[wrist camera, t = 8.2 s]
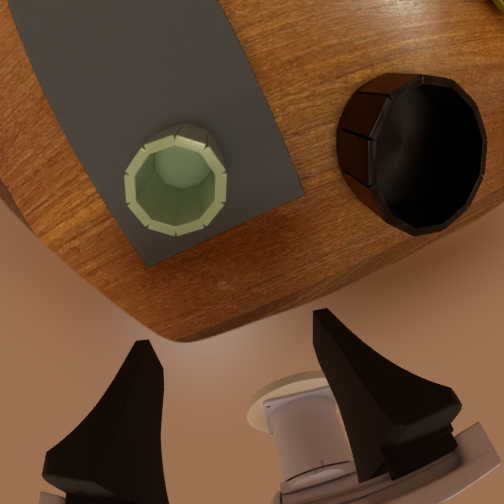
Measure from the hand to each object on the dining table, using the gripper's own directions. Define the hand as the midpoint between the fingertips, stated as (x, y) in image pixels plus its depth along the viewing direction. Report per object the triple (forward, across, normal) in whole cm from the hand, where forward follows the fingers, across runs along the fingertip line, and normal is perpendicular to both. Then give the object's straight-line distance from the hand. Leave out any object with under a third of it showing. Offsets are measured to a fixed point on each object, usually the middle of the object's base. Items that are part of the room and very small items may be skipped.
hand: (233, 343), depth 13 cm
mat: (+10, +9, -34) cm, 36 cm away
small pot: (+9, +1, -6) cm, 11 cm away
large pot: (+10, -14, -5) cm, 18 cm away
